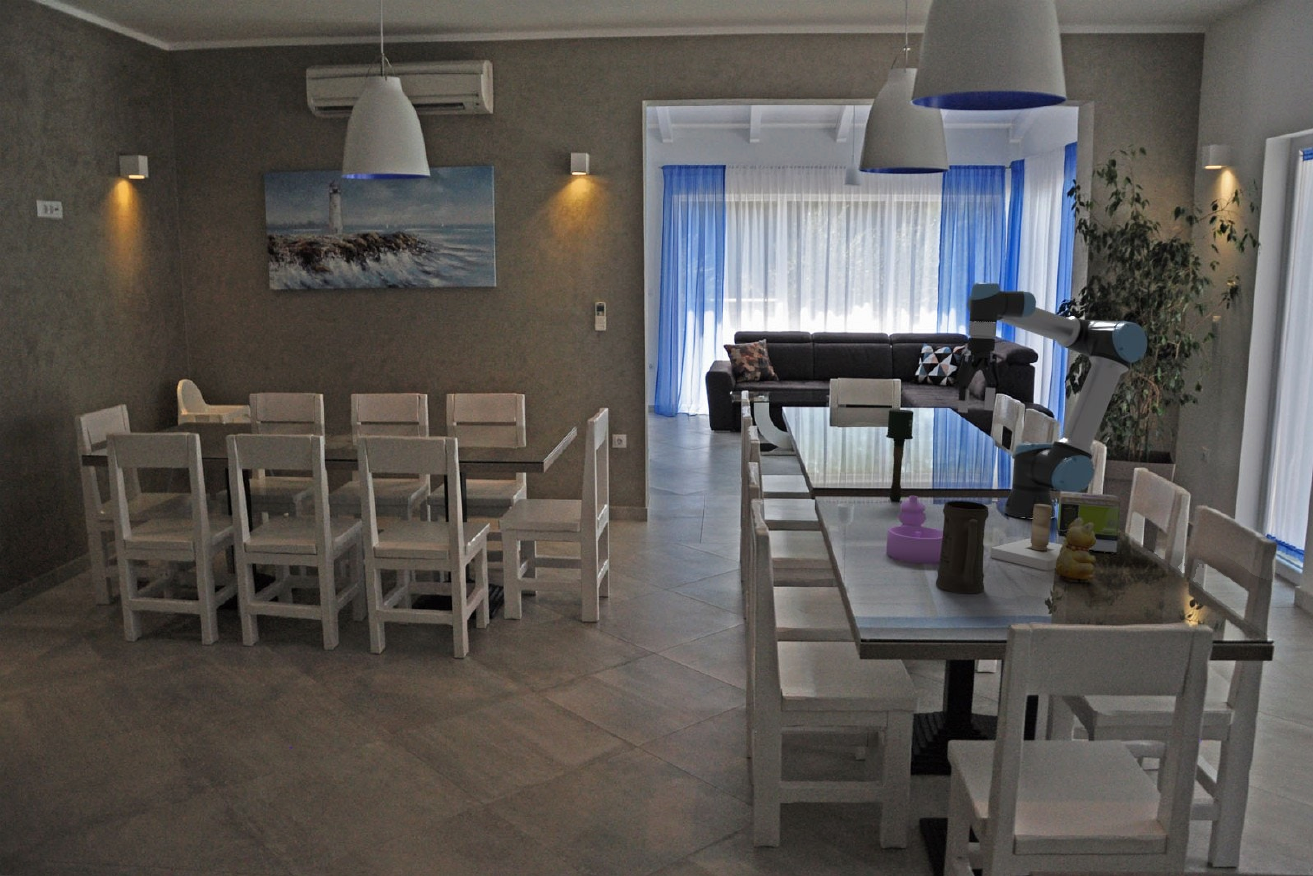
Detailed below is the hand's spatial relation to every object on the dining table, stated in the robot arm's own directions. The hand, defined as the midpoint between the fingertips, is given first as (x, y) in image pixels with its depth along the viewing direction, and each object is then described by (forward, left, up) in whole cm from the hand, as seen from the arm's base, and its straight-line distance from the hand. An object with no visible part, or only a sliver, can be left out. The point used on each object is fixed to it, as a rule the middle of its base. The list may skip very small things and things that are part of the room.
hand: (975, 411), depth 296 cm
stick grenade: (-17, -38, -35) cm, 54 cm away
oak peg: (+15, +31, -35) cm, 49 cm away
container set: (+37, +8, -35) cm, 52 cm away
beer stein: (+59, +37, -35) cm, 78 cm away
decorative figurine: (+28, +47, -35) cm, 65 cm away
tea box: (-8, +32, -35) cm, 48 cm away
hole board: (+15, +31, -35) cm, 49 cm away
